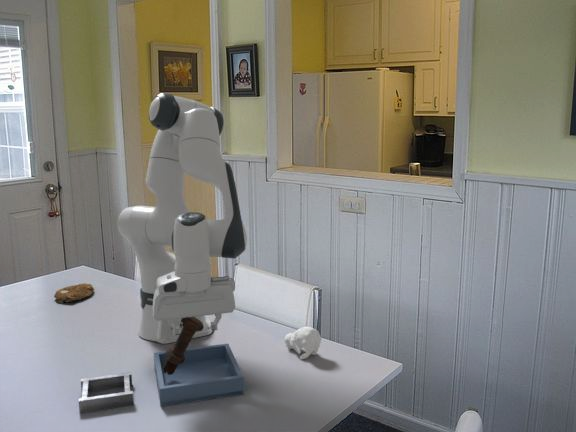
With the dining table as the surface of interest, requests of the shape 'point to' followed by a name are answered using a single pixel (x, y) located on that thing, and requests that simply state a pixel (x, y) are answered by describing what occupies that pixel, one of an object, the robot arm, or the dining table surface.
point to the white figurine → (304, 341)
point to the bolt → (181, 344)
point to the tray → (199, 376)
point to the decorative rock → (73, 293)
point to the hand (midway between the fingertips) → (195, 331)
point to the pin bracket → (106, 400)
